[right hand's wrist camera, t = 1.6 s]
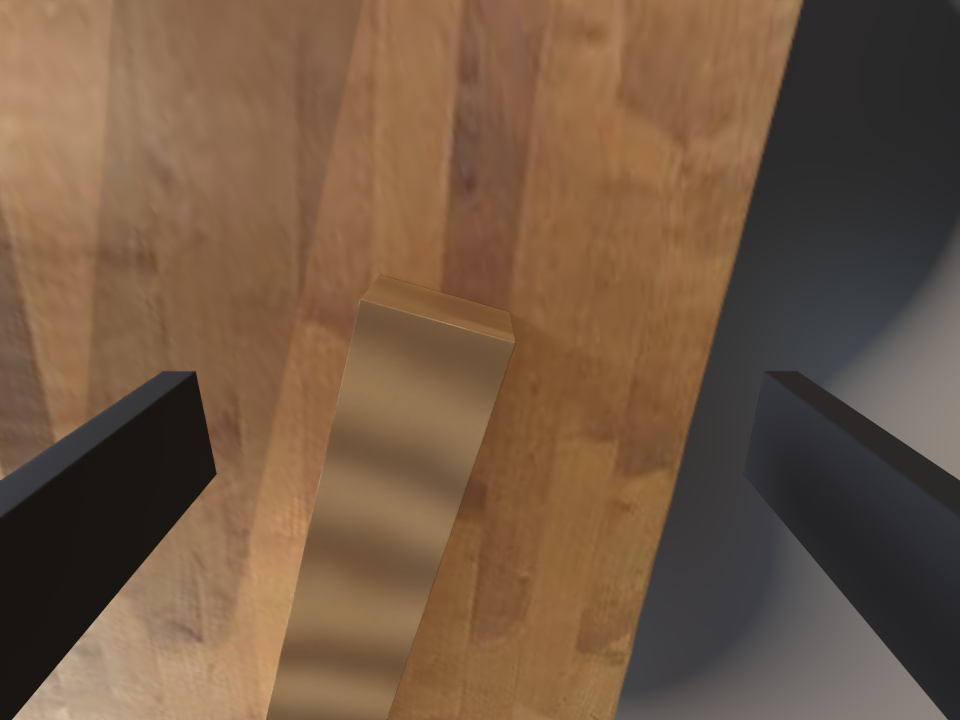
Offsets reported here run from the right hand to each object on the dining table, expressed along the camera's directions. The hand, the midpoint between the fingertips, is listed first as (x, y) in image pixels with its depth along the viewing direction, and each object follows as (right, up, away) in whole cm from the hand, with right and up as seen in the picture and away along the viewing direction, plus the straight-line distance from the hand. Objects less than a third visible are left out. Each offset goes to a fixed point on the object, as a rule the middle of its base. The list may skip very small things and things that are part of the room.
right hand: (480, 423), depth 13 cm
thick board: (-11, -19, +35) cm, 42 cm away
